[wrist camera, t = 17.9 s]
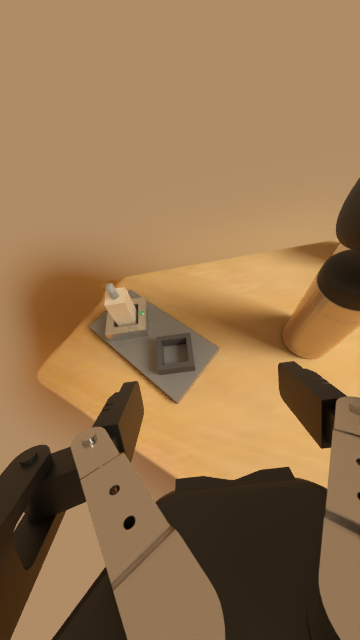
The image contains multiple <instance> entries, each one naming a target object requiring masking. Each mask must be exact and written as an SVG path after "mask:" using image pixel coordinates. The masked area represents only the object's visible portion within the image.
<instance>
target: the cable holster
mask: <svg viewBox="0 0 360 640" xmlns="http://www.w3.org/2000/svg"><path fill="white" fill-rule="evenodd" d="M180 344H187V350H188V358H189V361H187V362H180V363H172V364H165V363H164V347H166V346H173V345H180ZM156 349H157V371H158V372H159V374H160V375H166V374H174V373H181V372H189V371H196V370H195V363H194V356H193V349H192V342H191V334H190V333H182V334H175V335H168V336H160V337H156Z"/></svg>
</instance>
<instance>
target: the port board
mask: <svg viewBox="0 0 360 640" xmlns="http://www.w3.org/2000/svg"><path fill="white" fill-rule="evenodd" d="M128 294H129V296H130V298H131V299H134V298H141V296H139V295H138V294H136V293H135V292H133V291H132V290H129V291H128ZM147 302H148V306H149V336H145V337H138V338H131V339H124V340H116V341H110V340H109V339H108V338H107V337H106V336H105V331H106V321H107V312H108V310H107V311H106V312H105V313H103V314H102V315H101V316H100V317H99V318H98V319H97V320H96V321H94V322H93V323H92V324H91V325H90V326H89V327H90V328H91V329H92V330H93V331H94V332H95V333H96V334H97V335H99V336H100V337H101V338H102V339H103V340H104V341H105V342H107V343H108V344H109V345H110V346H111V347H112V348H114V349H115V350H116V351H117V352H118V353H119V354H121V355H122V356H123V357H124V358H125V359H126V360H128V361H129V362H130V363H131V364H132V365H133V366H134V367H136V368H137V369H138V370H139V371H140V372H141V373H143V374H144V375H145V376H146V377H147V378H148V379H150V380H151V381H152V382H153V383H154V384H155V385H156V386H158V387H159V388H160V389H161V390H162V391H163V392H165V393H166V394H167V395H168V396H169V397H170V398H172V399H173V400H174V401H175V402H176V403H177V404H178V403H179V402H180V400H181V399H182V398H183V396H184V395H185V394H186V393H187V391H188V390H189V389H190V387H191V386H192V385H193V383H194V382H195V381H196V379H197V378H198V377H199V375H200V374H201V373H202V372H203V370H204V369H205V368H206V366H207V365H208V364H209V362H210V361H211V360H212V358H213V357H214V356H215V355H216V353H217V352H218V351H219V347H218V346H216V345H215V344H213V343H211V342H210V341H208V340H207V339H205V338H204V337H202V336H201V335H199V334H198V333H196V332H195V331H193V330H192V329H190V328H188V327H187V326H185V325H184V324H182V323H181V322H179V321H178V320H176V319H175V318H173V317H172V316H170V315H169V314H167V313H165V312H164V311H162V310H161V309H159V308H158V307H156V306H155V305H153V304H152V303H150V302H149V301H147ZM137 312H138V311H137ZM182 333H190V334H191V342H192V349H193V356H194V363H195V370H196V371H189V372H181V373H174V374H166V375H160V374H159V372H158V371H157V349H156V337H160V336H168V335H175V334H182ZM187 361H189V358H188V350H187V344H180V345H173V346H166V347H164V363H165V364H172V363H180V362H187Z"/></svg>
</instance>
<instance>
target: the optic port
mask: <svg viewBox="0 0 360 640" xmlns="http://www.w3.org/2000/svg"><path fill="white" fill-rule="evenodd" d="M131 300H132V302H133V304H134V306H135V308H136V310H137V311H138V324H134V325H127V326H120V327H119V326H118V324H117V323H116V322H115V320H114V319H113V317H112V316H111V315H110V313H109V312H107V321H106V331H105V336H106V337H107V338H108V339H109V340H110V341H116V340H124V339H131V338H138V337H145V336H149V306H148V302H147V299H146V297H141V298H134V299H131Z"/></svg>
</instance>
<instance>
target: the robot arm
mask: <svg viewBox="0 0 360 640" xmlns="http://www.w3.org/2000/svg"><path fill="white" fill-rule="evenodd" d="M336 235H337V238H338V240H339V242H340V243H341V244H342V245H343V246H345V247H347V248H349V250H345V251H342V252H339V253H337V254H335V255H333V256H331V257H330V258H329V259H328V260H327V261H326V262H325V263H324V265H323V266H322V268H321V269H320V271H319V273H318V274H317V276H316V277H315V279H314V281H313V282H312V284H311V285H310V287H309V289H308V290H307V292H306V293H305V295H304V297H303V298H302V300H301V301H300V303H299V305H298V306H297V308H296V309H295V311H294V312H293V314H292V316H291V317H290V319H289V320H288V322H287V324H286V325H285V327H284V328H283V331H282V339H283V342H284V344H285V346H286V347H287V348H288V349H289V350H290V351H291V352H292V353H294V354H295V355H297V356H299V357H302V358H306V359H316V358H319V357H321V356H323V355H325V354H326V353H327V352H328V351H329V350H331V349H332V348H333V347H335V346H336V345H337V344H338V343H339V342H341V341H342V340H343V339H344V338H346V337H347V336H348V335H349V334H351V333H352V332H353V331H354V330H355V329H357V328H358V327H359V326H360V178H359V179H358V181H357V182H356V184H355V185H354V187H353V189H352V190H351V192H350V193H349V195H348V197H347V198H346V200H345V202H344V204H343V206H342V209H341V211H340V213H339V216H338V219H337V224H336ZM278 375H279V391H280V395H281V397H282V399H283V401H284V402H285V403H286V404H287V406H288V407H289V408H290V409H291V411H292V412H293V413H294V415H295V416H296V417H297V418H298V420H299V421H300V422H301V423H302V425H303V426H304V427H305V429H306V430H307V431H308V432H309V434H310V435H311V436H312V437H313V439H314V440H315V441H316V443H317V444H318V445H319V446H320V448H321V449H322V448H331V456H330V467H329V478H328V489H326V488H324V487H323V486H320V485H318V484H316V483H313V482H310V481H308V480H304V479H300V478H295V477H294V476H293V474H292V472H291V470H290V468H289V467H283V468H274V469H265V470H259V471H257V472H254V473H251V474H249V475H246V476H244V477H241V478H239V479H236V480H226V479H219V478H212V477H205V476H200V477H191V478H182V479H176V488H175V490H174V491H172V492H170V493H168V494H166V495H164V496H163V497H161V498H160V499H159V500H157V501H156V502H155V501H154V500H153V498H152V497H151V495H150V493H149V492H148V490H147V489H146V487H145V485H144V484H143V482H142V481H141V479H140V477H139V476H138V474H137V473H136V471H135V469H134V468H133V466H132V465H131V461H132V457H133V453H134V449H135V446H136V442H137V438H138V434H139V431H140V427H141V423H142V419H143V415H144V407H143V401H142V397H141V392H140V387H139V383H138V381H134V382H126V383H124V384H123V386H122V387H121V389H120V391H119V392H116V393H114V394H113V395H112V396H111V397H110V398H109V399H108V400H107V402H106V404H105V406H104V407H103V409H102V411H101V413H100V414H99V416H98V418H97V420H96V421H95V423H94V425H93V427H92V428H89V429H87V430H85V431H83V432H82V433H80V434H79V435H78V436H77V437H76V438H75V439H74V440H73V442H72V444H71V447H68V448H66V449H63V450H60V451H57V452H55V453H52V454H51V452H50V449H49V447H48V446H46V445H38V446H35V447H32V448H30V449H28V450H26V451H24V452H23V453H21V454H20V455H19V456H17V457H16V458H15V459H14V460H13V461H12V462H11V463H10V464H9V466H8V467H7V468H6V469H5V470H4V472H3V473H2V474H1V475H0V640H10V639H11V637H12V634H13V632H14V630H15V627H16V625H17V623H18V620H19V618H20V616H21V614H22V611H23V609H24V607H25V604H26V602H27V600H28V597H29V595H30V593H31V590H32V588H33V586H34V583H35V581H36V579H37V577H38V574H39V572H40V570H41V567H42V565H43V563H44V560H45V558H46V556H47V554H48V551H49V549H50V546H51V544H52V542H53V540H54V537H55V535H56V533H57V530H58V528H59V526H60V524H61V521H62V519H63V517H64V514H65V512H66V510H68V509H70V508H72V507H75V506H77V505H79V504H82V503H84V502H86V501H87V504H88V508H89V511H90V514H91V518H92V521H93V525H94V528H95V531H96V535H97V538H98V542H99V545H100V548H101V551H102V555H103V558H104V561H105V565H106V567H105V568H104V570H103V571H102V572H101V574H100V575H99V576H98V578H97V579H96V580H95V582H94V583H93V584H92V586H91V587H90V588H89V590H88V591H87V593H86V594H85V595H84V597H83V598H82V599H81V601H80V602H79V603H78V605H77V606H76V607H75V609H74V610H73V612H72V613H71V614H70V616H69V617H68V618H67V620H66V621H65V622H64V624H63V625H62V626H61V628H60V629H59V630H58V632H57V633H56V635H55V636H54V637H53V639H52V640H360V398H358V397H347V396H346V395H345V394H343V393H342V392H341V391H339V390H338V389H337V388H335V387H334V386H333V385H332V384H329V382H328V381H326V380H325V379H323V378H322V377H321V376H320V375H318V374H317V373H315V372H313V371H311V370H308V369H303V368H302V367H301V366H299V365H298V364H297V363H296V362H294V361H291V362H283V363H279V365H278ZM23 512H24V513H25V515H24V516H23V518H22V520H21V521H20V523H19V524H18V526H17V528H16V529H15V526H16V524H17V522H18V520H19V519H20V517H21V515H22V514H23ZM14 529H15V531H14ZM13 532H14V533H13Z"/></svg>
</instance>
